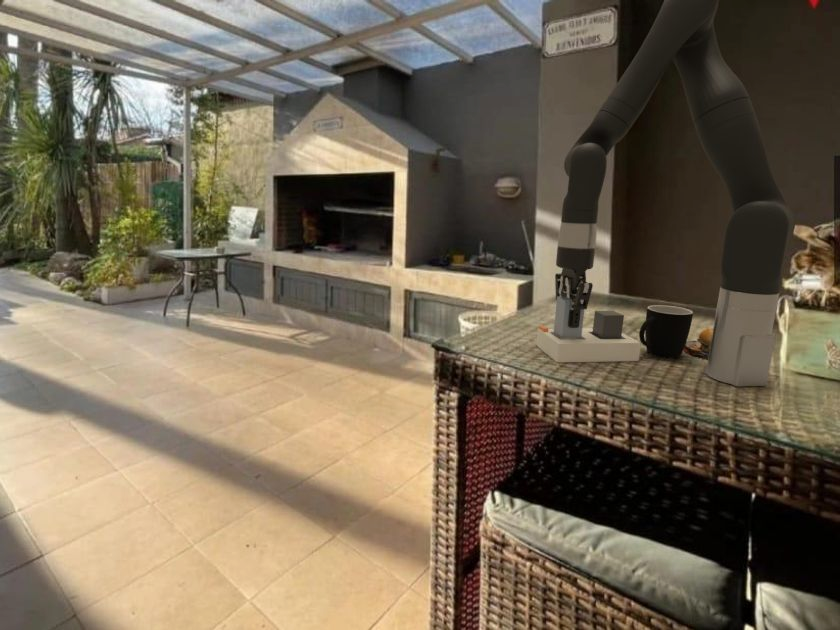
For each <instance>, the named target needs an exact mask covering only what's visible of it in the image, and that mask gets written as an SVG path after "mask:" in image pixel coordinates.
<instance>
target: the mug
mask: <svg viewBox="0 0 840 630" xmlns="http://www.w3.org/2000/svg"><path fill="white" fill-rule="evenodd" d="M693 316H694V312H693V311H692V310H691V309H688V308H684V307H680V306H674V305H673V306H672V305H664V304H663V305H662V304H661V305H660V304H657V305H656V304H654V305H649V306H647V308H646V315H645V321H644V322H643V323H642V324H641V327H640V328H639V335H638V336H639V342H640V343H641V345H643V346H644V347H646V351H647V352H648V354H650V355H651V356H654V357H658V358H661V359H662V358H664V359H678V358H679V357H680V356H681V355H682V353H684V351H683V350H684V347H685V345H686V342H688V341H687V340H688V337H689V334H690V331H691V326H692V321H693Z"/></svg>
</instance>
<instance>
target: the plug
mask: <svg viewBox="0 0 840 630" xmlns="http://www.w3.org/2000/svg"><path fill="white" fill-rule="evenodd" d="M574 301H575V299H574ZM583 302H584V300H583ZM569 305H570V300H569V299H567V297H566V296H564V297H562V296H557V300H556V305H555V315H554V327H553V329H554V332H555V333H556V334H557V335H559V336H560V337H581V336H582V328H584V318H585V316H584V315H585V309H583V310H582V311H581V313H580V322H579V327H578V328H570V327H568V320H569V310H570V308H569Z"/></svg>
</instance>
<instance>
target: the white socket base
mask: <svg viewBox="0 0 840 630" xmlns="http://www.w3.org/2000/svg"><path fill="white" fill-rule="evenodd" d="M593 314H594V316H593V324H592V325H593V326H592V327H589V328H587V327H582V336H581V337H560V336H559V335H557V334H556V333H555V332H554V328H548V327H546V326H545V325H544V324H543V325H542V324H541V325H538V328H537V334H536V336H537V337H536V347H538V348H539V349H540V350H541V351H542V352H543V353H545V354H546V355H547V356H548V357H550V358H551V359H552V360H553V361H554V362H556V363H592V362H593V363H598V362H604V363H606V362H639V361H640V353H641V346H642V343H641V341H639V340H636V339H635V338H632V337H630V336H629V335H627V334H625V333H623V325H624V320H625V319H624V318H625V315H624V314H622V313H620V312H617V311H615V310H594V313H593Z"/></svg>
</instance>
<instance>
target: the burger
mask: <svg viewBox="0 0 840 630" xmlns="http://www.w3.org/2000/svg"><path fill="white" fill-rule="evenodd" d="M706 326H707V323H706ZM706 328H707V329H704V330H702V331H701V332H700V333H699V335H698V338H697V339H696V340H690V341H689V340H688V341H687V342H686V345H685V347H684V350H683V353H685V352H686V355H689V356H692V357H694V358H697V357H698V358H697V359H700V358H702V359H701V360H704V359H706V360H705V361H708V358H709V351H710V345H711V339H712V333H713V328H708V327H706Z"/></svg>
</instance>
